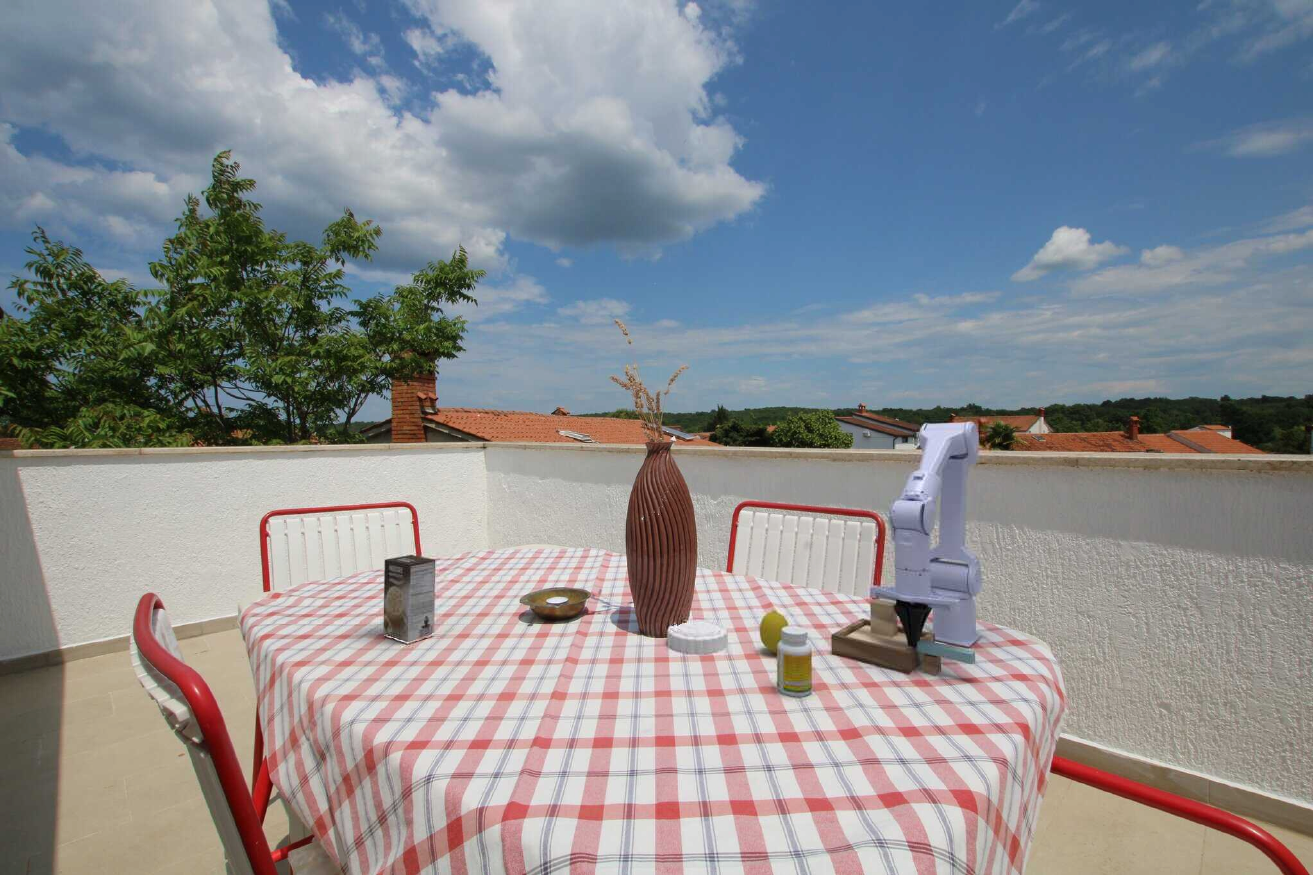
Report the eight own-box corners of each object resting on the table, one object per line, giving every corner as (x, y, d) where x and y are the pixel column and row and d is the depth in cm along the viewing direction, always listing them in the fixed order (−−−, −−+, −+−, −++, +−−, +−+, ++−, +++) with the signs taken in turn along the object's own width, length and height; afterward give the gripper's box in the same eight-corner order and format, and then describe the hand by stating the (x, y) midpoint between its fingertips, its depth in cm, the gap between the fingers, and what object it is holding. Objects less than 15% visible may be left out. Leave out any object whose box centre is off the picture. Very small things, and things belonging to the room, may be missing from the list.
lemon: (790, 659, 100) (789, 615, 100) (759, 657, 101) (759, 613, 101) (789, 649, 105) (788, 607, 106) (760, 647, 106) (759, 605, 107)
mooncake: (740, 647, 107) (740, 629, 107) (692, 660, 100) (692, 641, 100) (701, 631, 117) (701, 614, 117) (655, 642, 110) (655, 624, 110)
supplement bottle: (770, 687, 88) (770, 627, 88) (796, 681, 90) (796, 622, 91) (792, 700, 83) (791, 637, 84) (819, 693, 86) (818, 632, 86)
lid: (866, 628, 111) (865, 595, 111) (925, 641, 103) (925, 606, 103) (841, 641, 103) (840, 606, 103) (903, 657, 95) (903, 619, 95)
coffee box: (381, 637, 113) (382, 559, 113) (409, 628, 118) (410, 554, 119) (407, 645, 108) (408, 563, 108) (436, 636, 113) (437, 558, 114)
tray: (862, 635, 113) (862, 618, 113) (955, 657, 101) (955, 637, 101) (831, 653, 103) (831, 634, 103) (930, 680, 91) (930, 658, 91)
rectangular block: (921, 648, 96) (921, 639, 96) (975, 661, 91) (975, 651, 91) (917, 651, 95) (917, 642, 95) (971, 664, 89) (971, 654, 89)
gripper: (862, 565, 99) (863, 641, 98) (950, 578, 89) (951, 662, 88) (878, 560, 104) (879, 631, 104) (962, 571, 94) (964, 650, 94)
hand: (913, 645), depth 96 cm, fingers closed
